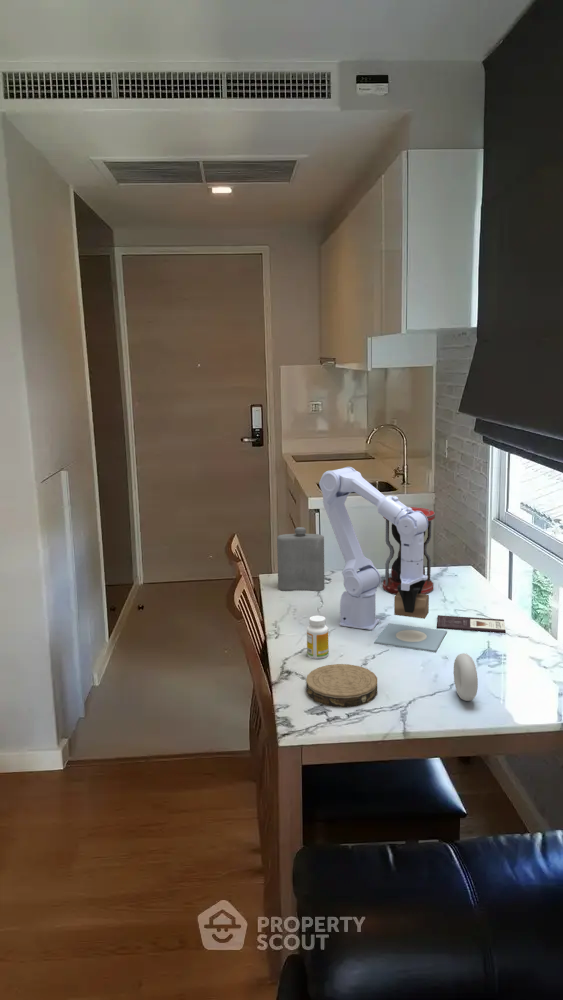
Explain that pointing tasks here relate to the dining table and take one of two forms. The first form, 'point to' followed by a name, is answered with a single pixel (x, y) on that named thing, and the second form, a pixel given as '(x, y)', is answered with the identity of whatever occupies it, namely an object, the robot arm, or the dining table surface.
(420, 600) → the walnut block
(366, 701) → the wooden log slice
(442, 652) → the dining table surface
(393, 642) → the rubber mat
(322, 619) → the supplement bottle
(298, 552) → the flask
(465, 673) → the donut
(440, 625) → the chocolate bar
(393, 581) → the hourglass
